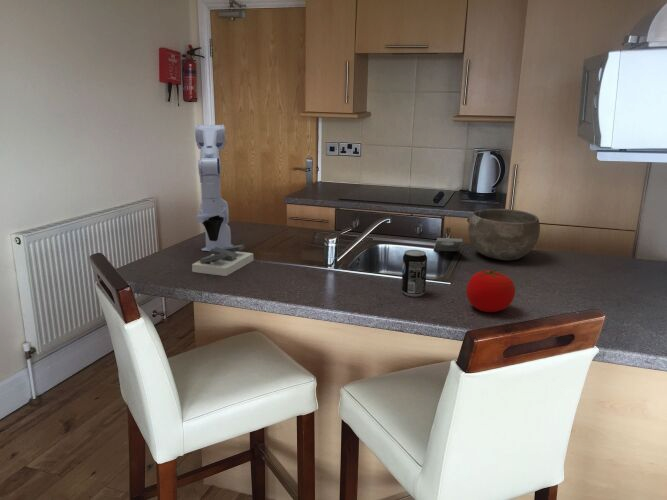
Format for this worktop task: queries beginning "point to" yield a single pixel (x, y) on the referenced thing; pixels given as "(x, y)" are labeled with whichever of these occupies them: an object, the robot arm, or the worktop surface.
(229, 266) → the switch panel
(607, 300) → the worktop surface
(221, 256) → the rocker
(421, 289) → the beverage can
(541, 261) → the worktop surface
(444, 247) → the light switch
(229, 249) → the rocker
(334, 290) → the worktop surface
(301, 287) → the worktop surface
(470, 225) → the bowl
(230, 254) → the rocker
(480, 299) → the tomato
